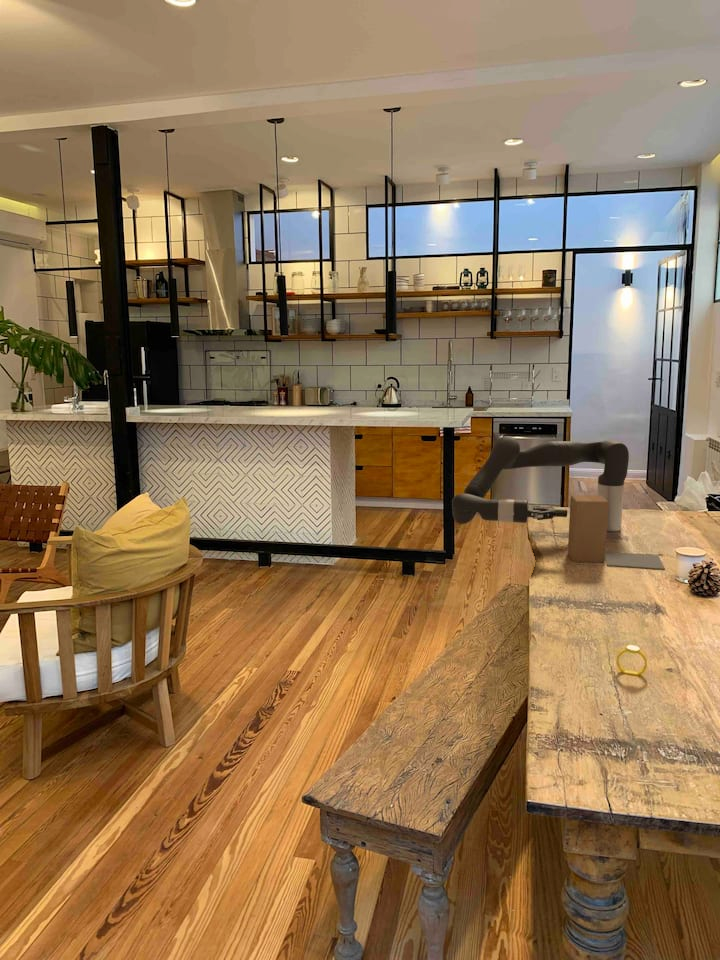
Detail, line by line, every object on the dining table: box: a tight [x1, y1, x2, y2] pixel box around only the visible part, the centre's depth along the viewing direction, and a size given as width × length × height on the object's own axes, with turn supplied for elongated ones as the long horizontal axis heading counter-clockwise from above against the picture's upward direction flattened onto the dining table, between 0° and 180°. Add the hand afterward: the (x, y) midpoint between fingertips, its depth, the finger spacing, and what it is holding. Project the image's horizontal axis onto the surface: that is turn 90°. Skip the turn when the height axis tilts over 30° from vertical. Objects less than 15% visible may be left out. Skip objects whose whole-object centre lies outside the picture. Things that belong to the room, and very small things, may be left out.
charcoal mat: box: [605, 551, 666, 571], centre depth 232 cm, size 15×17×1 cm
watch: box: [616, 644, 648, 677], centre depth 153 cm, size 6×3×6 cm, turn 68°
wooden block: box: [567, 494, 609, 563], centre depth 234 cm, size 10×10×20 cm
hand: (567, 513), depth 233 cm, fingers closed
